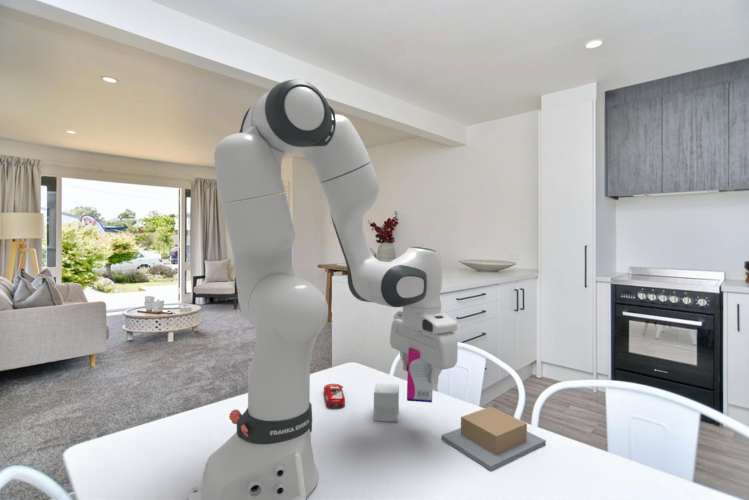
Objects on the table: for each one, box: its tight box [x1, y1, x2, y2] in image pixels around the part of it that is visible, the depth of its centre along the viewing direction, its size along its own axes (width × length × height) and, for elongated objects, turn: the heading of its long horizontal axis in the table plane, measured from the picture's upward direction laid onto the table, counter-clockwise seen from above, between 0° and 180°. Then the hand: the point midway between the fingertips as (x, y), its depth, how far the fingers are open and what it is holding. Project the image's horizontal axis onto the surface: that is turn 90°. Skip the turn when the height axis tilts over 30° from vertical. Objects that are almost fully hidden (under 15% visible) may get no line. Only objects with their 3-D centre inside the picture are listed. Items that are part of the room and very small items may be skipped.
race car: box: [323, 383, 346, 409], centre depth 109 cm, size 13×5×4 cm, turn 10°
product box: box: [373, 383, 400, 423], centre depth 99 cm, size 6×6×7 cm
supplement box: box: [406, 348, 434, 404], centre depth 91 cm, size 6×6×12 cm
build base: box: [440, 406, 547, 472], centre depth 87 cm, size 18×14×5 cm
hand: (419, 376), depth 91 cm, fingers closed on supplement box, 8 cm apart
